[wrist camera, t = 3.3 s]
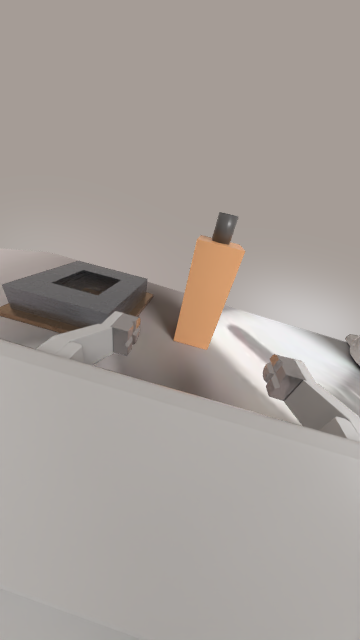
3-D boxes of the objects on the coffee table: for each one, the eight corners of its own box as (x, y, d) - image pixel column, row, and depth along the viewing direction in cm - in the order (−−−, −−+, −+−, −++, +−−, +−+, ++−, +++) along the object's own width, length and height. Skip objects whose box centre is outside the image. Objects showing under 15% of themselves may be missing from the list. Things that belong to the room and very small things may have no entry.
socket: (152, 297, 30) (155, 278, 29) (113, 347, 19) (112, 321, 17) (79, 277, 31) (76, 258, 29) (-5, 314, 19) (-18, 285, 17)
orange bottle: (208, 330, 25) (248, 219, 18) (207, 349, 22) (257, 220, 14) (179, 322, 25) (206, 210, 18) (173, 340, 22) (204, 207, 14)
